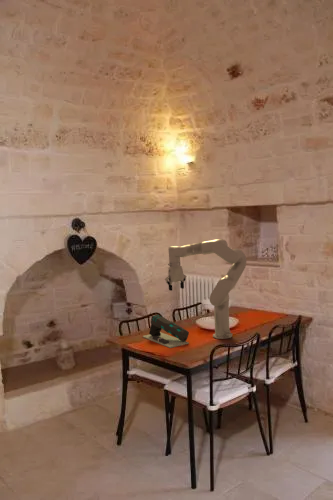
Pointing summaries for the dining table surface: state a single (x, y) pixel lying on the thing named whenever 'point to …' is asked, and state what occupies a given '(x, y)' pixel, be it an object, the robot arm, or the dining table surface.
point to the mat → (172, 340)
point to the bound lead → (160, 340)
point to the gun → (167, 328)
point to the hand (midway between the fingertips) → (176, 289)
